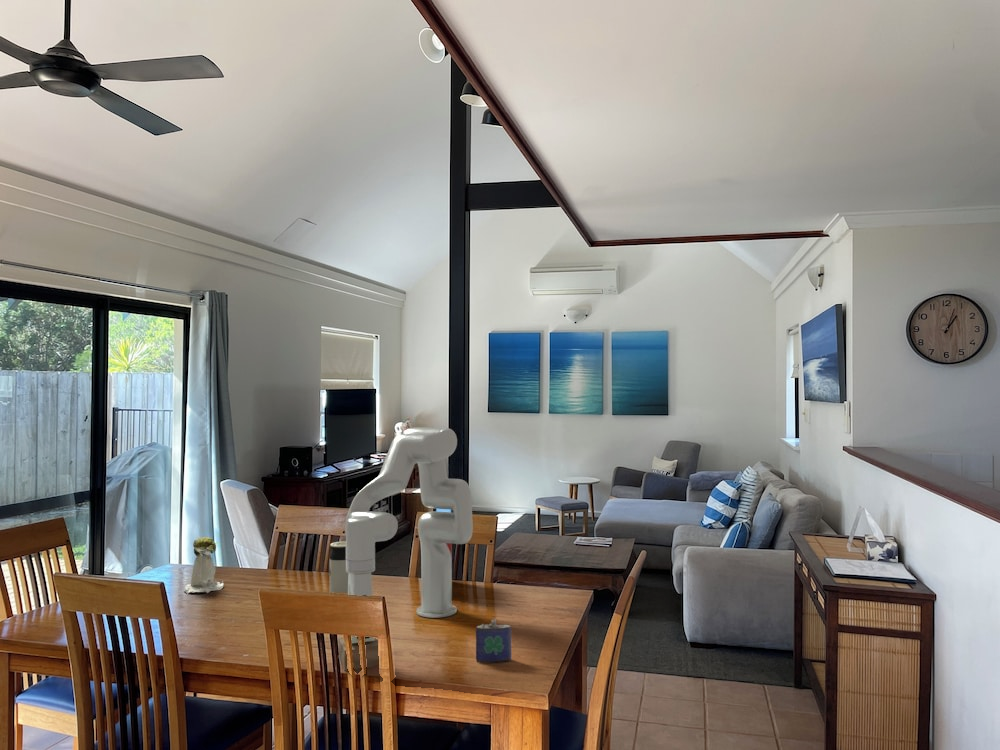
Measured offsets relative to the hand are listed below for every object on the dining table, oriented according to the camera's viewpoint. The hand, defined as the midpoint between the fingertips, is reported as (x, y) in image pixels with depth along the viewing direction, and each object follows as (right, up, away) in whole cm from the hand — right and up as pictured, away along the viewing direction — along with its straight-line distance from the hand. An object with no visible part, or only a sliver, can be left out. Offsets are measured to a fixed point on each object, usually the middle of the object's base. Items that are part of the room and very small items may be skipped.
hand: (360, 633), depth 193 cm
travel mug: (-18, -8, +60) cm, 64 cm away
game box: (+17, -8, +68) cm, 71 cm away
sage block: (0, -1, 0) cm, 1 cm away
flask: (+35, -7, -1) cm, 35 cm away
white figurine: (-69, -9, +71) cm, 99 cm away
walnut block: (0, -7, 0) cm, 7 cm away
